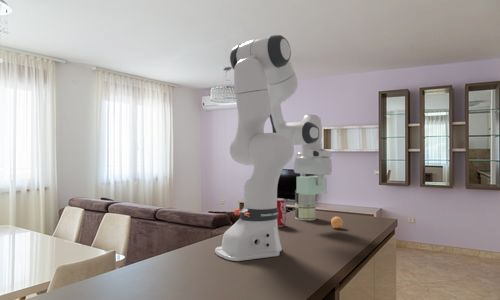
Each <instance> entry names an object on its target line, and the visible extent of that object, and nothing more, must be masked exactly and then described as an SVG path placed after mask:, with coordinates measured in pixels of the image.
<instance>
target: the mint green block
mask: <svg viewBox="0 0 500 300" xmlns="http://www.w3.org/2000/svg"><path fill="white" fill-rule="evenodd" d="M318 178H319V177H318V175H306V176H296V189H295V190H296V193H300V194H307V195H310V194H316V195H319V194H322V195H323V194H328V193H327V187H328V186H327V182H328V181H327V180H328V179H327V176H324V178H323V180H322V185H320V186H319V185H316V181H318Z"/></svg>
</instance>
